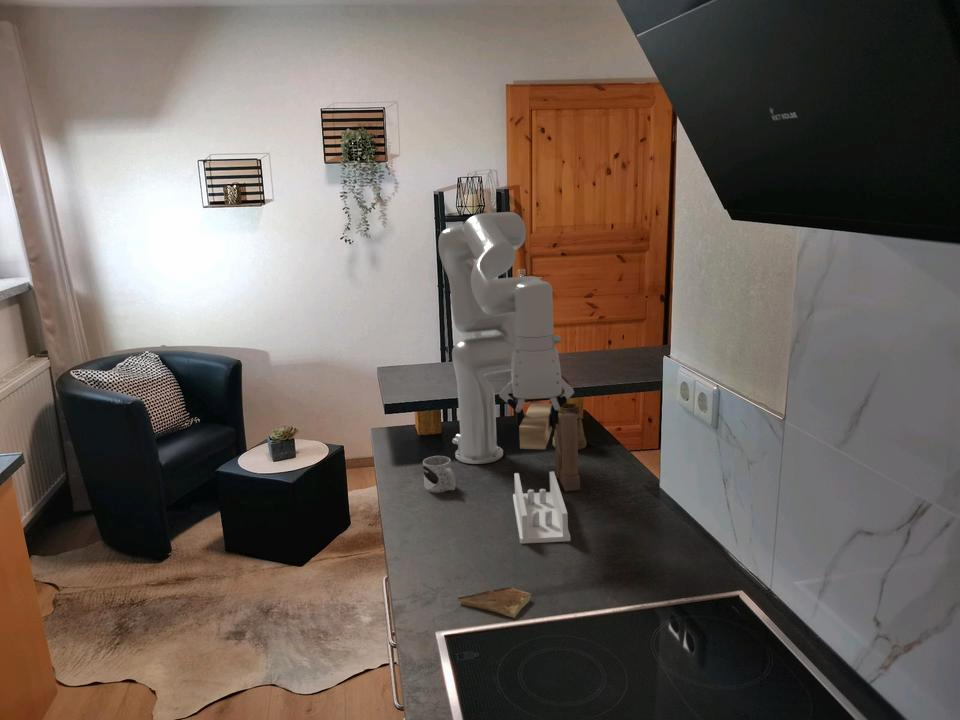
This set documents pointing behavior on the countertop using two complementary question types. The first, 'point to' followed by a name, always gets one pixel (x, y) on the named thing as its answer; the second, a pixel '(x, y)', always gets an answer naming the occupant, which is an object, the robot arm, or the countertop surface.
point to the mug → (438, 474)
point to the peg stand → (541, 513)
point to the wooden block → (567, 452)
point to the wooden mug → (576, 410)
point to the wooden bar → (535, 427)
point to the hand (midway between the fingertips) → (537, 427)
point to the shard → (499, 601)
